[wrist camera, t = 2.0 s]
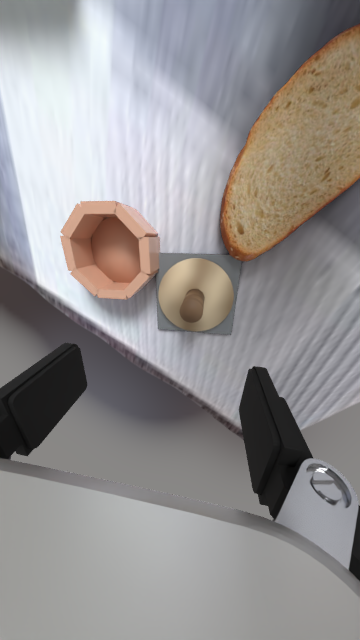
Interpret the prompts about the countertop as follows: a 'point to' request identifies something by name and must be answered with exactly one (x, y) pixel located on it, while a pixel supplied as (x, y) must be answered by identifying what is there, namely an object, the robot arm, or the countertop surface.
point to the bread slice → (297, 151)
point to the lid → (196, 294)
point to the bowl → (110, 248)
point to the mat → (224, 261)
